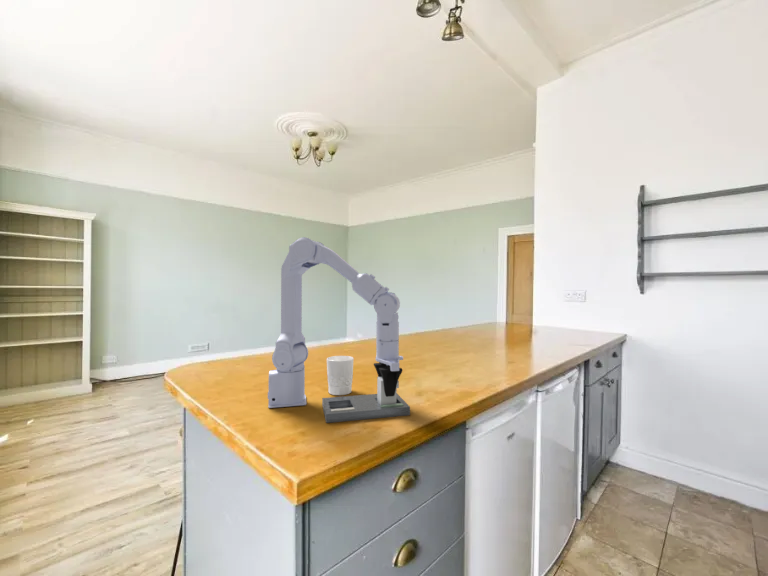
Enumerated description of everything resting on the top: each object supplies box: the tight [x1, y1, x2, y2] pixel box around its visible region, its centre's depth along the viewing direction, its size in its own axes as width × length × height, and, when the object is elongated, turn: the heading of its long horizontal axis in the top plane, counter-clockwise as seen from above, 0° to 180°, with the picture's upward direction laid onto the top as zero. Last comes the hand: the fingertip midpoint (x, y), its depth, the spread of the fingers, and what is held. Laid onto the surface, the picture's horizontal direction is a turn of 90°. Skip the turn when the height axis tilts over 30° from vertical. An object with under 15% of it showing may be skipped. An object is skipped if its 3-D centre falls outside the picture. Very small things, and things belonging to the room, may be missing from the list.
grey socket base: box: [321, 393, 411, 424], centre depth 87 cm, size 20×12×2 cm, turn 104°
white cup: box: [326, 355, 354, 396], centre depth 103 cm, size 8×8×10 cm
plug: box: [376, 376, 400, 405], centre depth 89 cm, size 5×4×7 cm
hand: (387, 393), depth 89 cm, fingers closed on plug, 4 cm apart
